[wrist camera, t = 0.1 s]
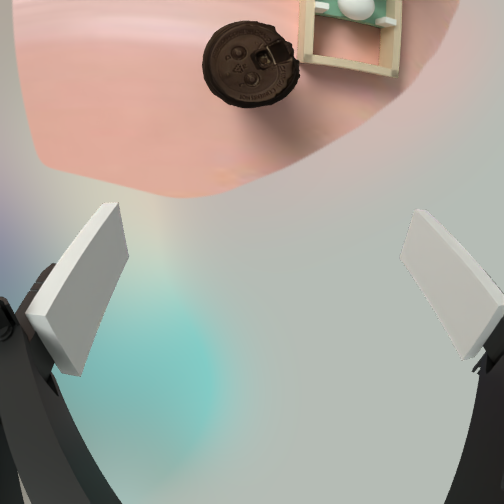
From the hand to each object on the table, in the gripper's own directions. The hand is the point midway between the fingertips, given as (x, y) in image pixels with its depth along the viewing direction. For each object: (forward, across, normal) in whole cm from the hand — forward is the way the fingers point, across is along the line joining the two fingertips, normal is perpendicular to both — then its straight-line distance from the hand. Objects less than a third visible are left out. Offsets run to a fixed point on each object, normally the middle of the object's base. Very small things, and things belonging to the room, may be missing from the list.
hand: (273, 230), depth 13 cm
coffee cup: (+28, 0, +7) cm, 29 cm away
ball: (+24, +12, +17) cm, 32 cm away
